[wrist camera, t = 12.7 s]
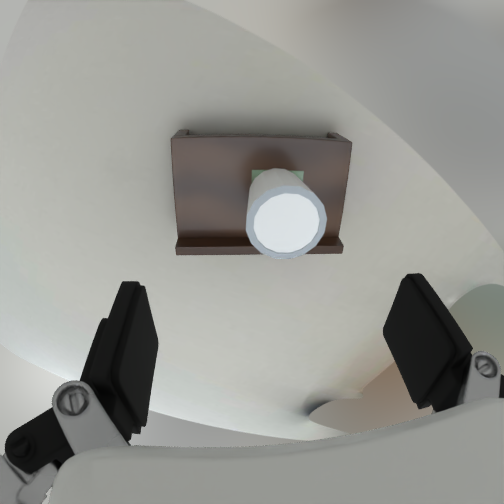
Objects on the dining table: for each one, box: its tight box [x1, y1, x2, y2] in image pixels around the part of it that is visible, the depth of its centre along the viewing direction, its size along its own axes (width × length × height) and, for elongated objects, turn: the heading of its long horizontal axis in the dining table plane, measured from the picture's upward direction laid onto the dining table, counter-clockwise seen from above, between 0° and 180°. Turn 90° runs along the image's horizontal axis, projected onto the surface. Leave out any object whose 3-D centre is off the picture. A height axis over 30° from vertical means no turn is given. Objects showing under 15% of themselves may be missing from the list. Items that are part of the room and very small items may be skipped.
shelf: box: [171, 130, 352, 255], centre depth 33 cm, size 12×18×7 cm, turn 88°
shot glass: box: [246, 168, 327, 259], centre depth 29 cm, size 7×7×7 cm
